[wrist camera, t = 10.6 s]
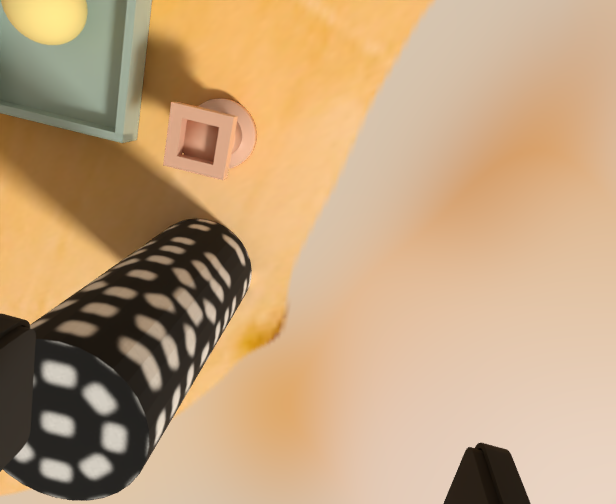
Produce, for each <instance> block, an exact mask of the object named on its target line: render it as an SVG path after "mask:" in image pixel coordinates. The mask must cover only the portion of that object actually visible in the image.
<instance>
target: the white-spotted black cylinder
mask: <svg viewBox="0 0 616 504" xmlns="http://www.w3.org/2000/svg"><path fill="white" fill-rule="evenodd" d="M251 271H252V270H251V263H250V259H249V256H248V253H247V251H246V249H245V247H244V246H243V244H242V242H241V241H240V240H239V239H238V238H237V236H236V235H235V234H233V233H232V232H231V231H230V230H228V229H227V228H226V227H224V226H222V225H220V224H218V223H215V222H212V221H209V220H203V219H189V220H185V221H181V222H178V223H176V224H174V225H172V226H171V227H169V228H168V229H166V230H165V231H163V232H162V233H161V234H159V235H158V236H156V237H155V238H153V239H152V240H151V241H149V242H148V243H146V244H145V245H143V246H142V247H141V248H139V249H138V250H136V251H135V252H133V253H132V254H131V255H129V256H128V257H126V258H125V259H123V260H122V261H121V262H119V263H118V264H116V265H115V266H113V267H112V268H111V269H109V270H108V271H106V272H105V273H103V274H102V275H101V276H99V277H98V278H96V279H95V280H93V281H92V282H91V283H89V284H88V285H86V286H85V287H83V288H82V289H81V290H79V291H78V292H76V293H75V294H73V295H72V296H71V297H69V298H68V299H66V300H65V301H64V302H62V303H61V304H59V305H58V306H56V307H55V308H54V309H52V310H51V311H49V312H48V313H46V314H45V315H44V316H42V317H41V318H39V319H38V320H36V321H35V322H34V323H32V324H31V325H30V329H33V330H34V331H35V333H36V343H35V360H34V378H33V395H32V412H31V430H30V435H29V438H28V440H27V442H26V444H25V446H24V447H23V448H22V449H21V451H20V452H19V453H18V454H17V455H16V456H15V457H14V458H13V459H12V460H11V461H10V462H9V463H8V464H7V465H6V466H5V467H4V468H3V470H4V471H5V472H6V473H8V474H9V475H10V476H12V477H13V478H15V479H16V480H18V481H19V482H20V483H22V484H24V485H26V486H28V487H30V488H32V489H34V490H36V491H38V492H40V493H43V494H46V495H49V496H52V497H55V498H61V499H67V500H94V499H99V498H105V497H107V496H110V495H112V494H115V493H118V492H119V491H121V490H122V489H124V488H125V487H126V486H128V485H130V484H131V483H132V481H133V480H134V479H135V478H136V477H137V476H138V475H139V474H140V472H141V470H142V469H143V467H144V465H145V464H146V462H147V460H148V459H149V457H150V455H151V453H152V452H153V450H154V448H155V447H156V445H157V443H158V442H159V440H160V438H161V436H162V435H163V433H164V431H165V430H166V428H167V426H168V425H169V423H170V421H171V420H172V418H173V416H174V414H175V413H176V411H177V409H178V408H179V406H180V404H181V403H182V401H183V399H184V398H185V396H186V394H187V392H188V391H189V389H190V387H191V386H192V384H193V382H194V381H195V379H196V377H197V376H198V374H199V372H200V370H201V369H202V367H203V365H204V364H205V362H206V360H207V359H208V357H209V355H210V354H211V352H212V350H213V348H214V347H215V345H216V343H217V342H218V340H219V338H220V337H221V335H222V333H223V332H224V330H225V328H226V326H227V325H228V323H229V321H230V320H231V318H232V316H233V315H234V313H235V311H236V310H237V308H238V306H239V304H240V303H241V301H242V299H243V298H244V296H245V294H246V292H247V290H248V288H249V285H250V281H251Z"/></svg>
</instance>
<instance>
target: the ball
mask: <svg viewBox="0 0 616 504" xmlns="http://www.w3.org/2000/svg"><path fill="white" fill-rule="evenodd" d="M1 3H2V7H3V10H4V12H5V14H6V16H7V18H8V19H9V21H10V22H11V24H12V25H13V26H14V27H15V28H16V29H17V30H18V31H19V32H20V33H21V34H23V35H24V36H25V37H27V38H29V39H31V40H33V41H35V42H37V43H41V44H45V45H61V44H65V43H68V42H70V41H72V40H73V39H75V38H76V37H77V36H78V35H79V34H80V33H81V31H82V30H83V28H84V26H85V24H86V20H87V14H88V9H87V2H86V0H1Z"/></svg>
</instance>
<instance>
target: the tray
mask: <svg viewBox="0 0 616 504" xmlns="http://www.w3.org/2000/svg"><path fill="white" fill-rule="evenodd" d="M86 2H87V9H88V14H87V20H86V24H85V26H84V28H83V30H82V31H81V33H80V34H79V35H78V36H77V37H76V38H75V39H73V40H72V41H70V42H68V43H65V44H61V45H45V44H41V43H37V42H35V41H33V40H31V39H29V38H27V37H25V36H24V35H23V34H21V33H20V32H19V31H18V30H17V29H16V28H15V27H14V26H13V25H12V24H11V22H10V21H9V19H8V18H7V16H6V14H5V12H4V10H3V7H2V3H1V0H0V113H2V114H6V115H10V116H14V117H18V118H22V119H27V120H31V121H35V122H39V123H43V124H47V125H51V126H55V127H59V128H63V129H67V130H71V131H75V132H79V133H83V134H87V135H91V136H96V137H100V138H104V139H108V140H112V141H116V142H120V143H125V142H129V141H134V140H137V135H138V125H139V116H140V107H141V97H142V88H143V79H144V69H145V60H146V51H147V41H148V32H149V23H150V13H151V4H152V0H86Z"/></svg>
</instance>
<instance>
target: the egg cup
mask: <svg viewBox="0 0 616 504" xmlns="http://www.w3.org/2000/svg"><path fill="white" fill-rule="evenodd" d="M256 139H257V132H256V126H255V123H254V120H253V118H252V116H251V115H250V113H249V112H248V111H247V110H246V109H245V108H244V107H243V106H242V105H241V104H239V103H237V102H235V101H233V100H230V99H212V100H208V101H206V102H204V103H202V104H201V105H199V106H198V107H197V106H193V105H189V104H185V103H181V102H171V108H170V116H169V124H168V132H167V140H166V148H165V156H164V164H163V165H164V166H168V167H172V168H176V169H180V170H184V171H188V172H192V173H196V174H200V175H204V176H208V177H212V178H216V179H221V180H224V179H226V178H227V176H228V171H229V168H233V167H235V166H237V165H239V164H241V163H243V162H244V161H245V160H246V159H247V158H248V157H249V156H250V155H251V153H252V152H253V150H254V147H255V144H256ZM182 153H184V154H182Z"/></svg>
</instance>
